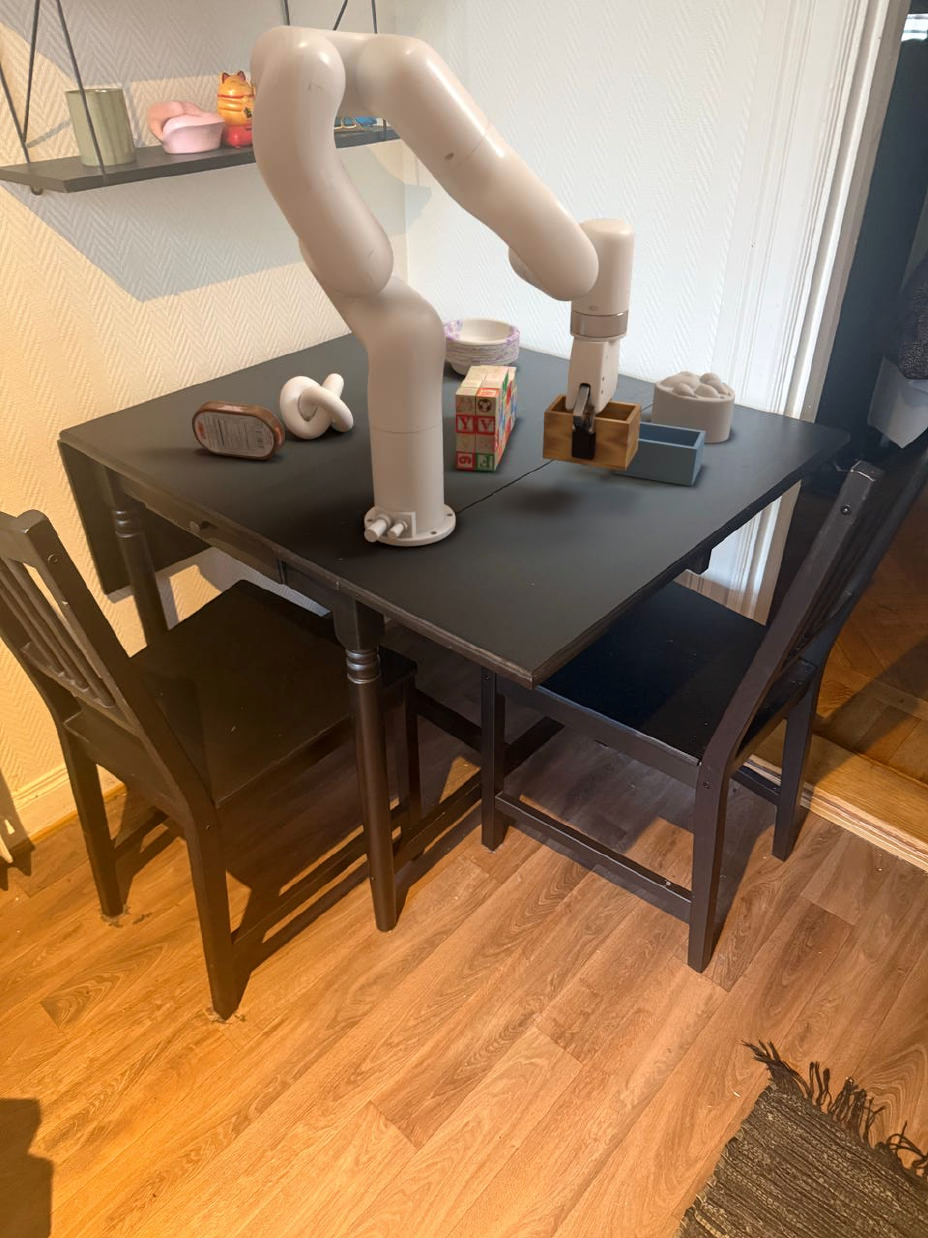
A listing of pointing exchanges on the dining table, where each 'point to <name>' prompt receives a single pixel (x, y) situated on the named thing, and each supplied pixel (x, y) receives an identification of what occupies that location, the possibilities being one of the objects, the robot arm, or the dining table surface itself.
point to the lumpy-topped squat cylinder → (694, 404)
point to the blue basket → (667, 454)
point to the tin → (238, 430)
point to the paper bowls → (480, 343)
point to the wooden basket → (612, 434)
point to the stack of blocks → (484, 416)
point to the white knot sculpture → (314, 406)
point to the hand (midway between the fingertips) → (590, 445)
